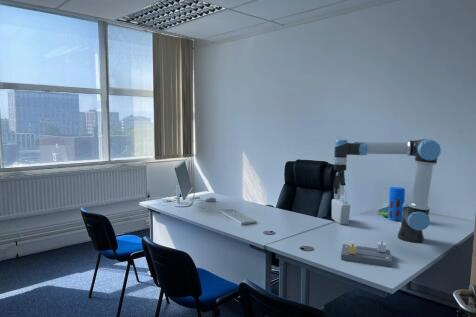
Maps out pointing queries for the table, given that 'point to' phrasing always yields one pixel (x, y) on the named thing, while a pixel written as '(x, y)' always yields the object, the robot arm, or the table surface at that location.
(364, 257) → the board
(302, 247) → the table surface
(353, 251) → the fader amber
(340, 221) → the white jerry can
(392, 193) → the thermos
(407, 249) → the table surface
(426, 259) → the table surface
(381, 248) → the fader grey
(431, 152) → the robot arm
